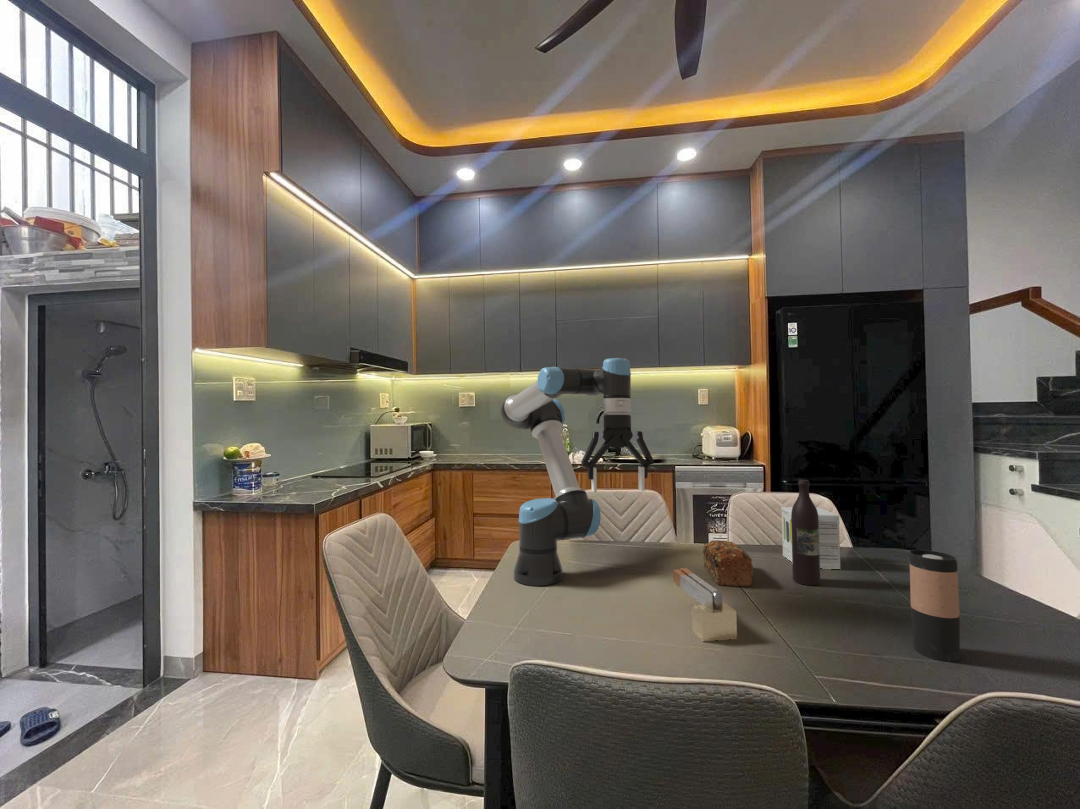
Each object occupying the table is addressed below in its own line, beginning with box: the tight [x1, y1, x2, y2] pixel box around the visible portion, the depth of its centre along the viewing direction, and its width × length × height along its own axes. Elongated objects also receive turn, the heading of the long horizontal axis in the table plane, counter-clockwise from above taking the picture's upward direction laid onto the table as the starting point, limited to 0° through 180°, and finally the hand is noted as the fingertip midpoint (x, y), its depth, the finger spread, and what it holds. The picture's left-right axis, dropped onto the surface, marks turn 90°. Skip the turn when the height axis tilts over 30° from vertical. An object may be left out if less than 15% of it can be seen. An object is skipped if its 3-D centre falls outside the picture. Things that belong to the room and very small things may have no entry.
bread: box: [702, 539, 754, 588], centre depth 140 cm, size 19×11×10 cm, turn 172°
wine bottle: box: [791, 479, 821, 587], centre depth 135 cm, size 7×7×30 cm
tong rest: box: [672, 569, 738, 642], centre depth 109 cm, size 20×8×9 cm, turn 8°
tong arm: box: [679, 567, 723, 609], centre depth 110 cm, size 18×2×3 cm, turn 8°
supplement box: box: [781, 506, 841, 570], centre depth 152 cm, size 13×13×18 cm
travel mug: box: [908, 549, 961, 663], centre depth 94 cm, size 8×8×20 cm
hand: (618, 490), depth 125 cm, fingers open, 13 cm apart
